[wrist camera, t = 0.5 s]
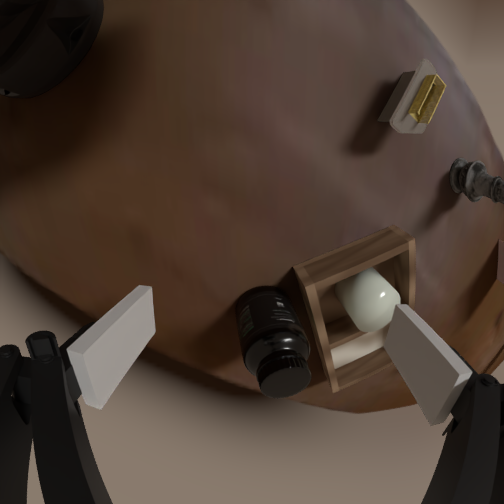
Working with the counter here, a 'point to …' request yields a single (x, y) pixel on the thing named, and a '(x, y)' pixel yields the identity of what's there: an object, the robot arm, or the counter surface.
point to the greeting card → (501, 262)
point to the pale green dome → (367, 299)
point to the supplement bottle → (273, 342)
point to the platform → (414, 99)
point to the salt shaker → (475, 181)
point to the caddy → (334, 314)
